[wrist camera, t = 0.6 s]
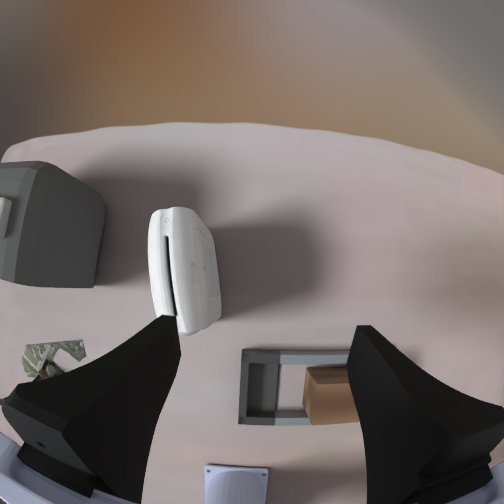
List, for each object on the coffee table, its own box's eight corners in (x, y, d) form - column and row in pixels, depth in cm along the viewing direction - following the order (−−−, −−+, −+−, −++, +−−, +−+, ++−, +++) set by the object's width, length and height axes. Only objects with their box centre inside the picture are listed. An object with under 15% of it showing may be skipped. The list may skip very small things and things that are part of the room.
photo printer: (177, 233, 32) (135, 203, 20) (214, 227, 32) (191, 193, 20) (187, 324, 31) (149, 346, 19) (225, 320, 31) (208, 341, 19)
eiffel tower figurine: (85, 337, 31) (15, 355, 18) (106, 409, 30) (51, 453, 17) (16, 344, 31) (-45, 356, 18) (35, 406, 30) (-20, 432, 17)
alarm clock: (18, 265, 32) (-61, 254, 16) (33, 191, 33) (-38, 155, 18) (101, 288, 31) (11, 286, 16) (118, 197, 33) (43, 144, 17)
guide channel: (369, 413, 29) (375, 419, 27) (239, 416, 30) (238, 424, 28) (379, 349, 30) (386, 352, 28) (242, 348, 31) (241, 353, 29)
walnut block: (366, 399, 30) (385, 418, 24) (302, 402, 30) (311, 425, 24) (371, 365, 30) (392, 379, 24) (306, 367, 30) (317, 384, 24)
